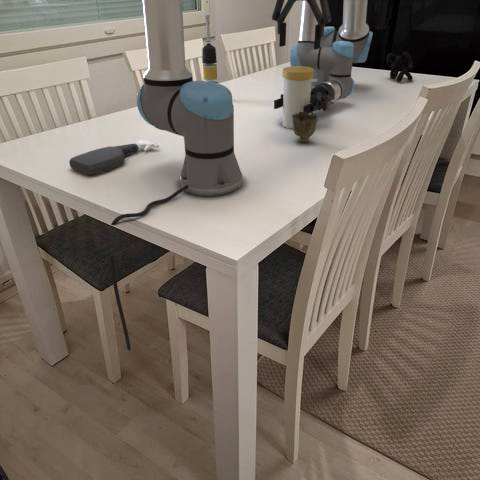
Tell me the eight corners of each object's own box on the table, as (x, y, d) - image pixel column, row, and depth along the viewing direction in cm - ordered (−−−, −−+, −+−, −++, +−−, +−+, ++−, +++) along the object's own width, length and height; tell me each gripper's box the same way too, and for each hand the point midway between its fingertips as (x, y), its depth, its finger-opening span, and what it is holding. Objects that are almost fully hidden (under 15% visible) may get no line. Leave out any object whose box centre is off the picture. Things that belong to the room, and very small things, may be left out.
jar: (287, 130, 144) (289, 74, 135) (278, 122, 151) (280, 69, 142) (312, 127, 146) (316, 72, 137) (302, 120, 153) (305, 67, 144)
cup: (287, 143, 133) (288, 116, 129) (296, 135, 139) (297, 110, 135) (310, 147, 130) (312, 119, 126) (319, 139, 136) (321, 113, 132)
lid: (288, 80, 136) (288, 73, 134) (278, 74, 143) (278, 67, 142) (318, 78, 138) (318, 71, 136) (306, 72, 145) (306, 65, 144)
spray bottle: (67, 168, 120) (139, 144, 136) (91, 178, 114) (163, 151, 130) (65, 157, 118) (137, 134, 134) (89, 167, 112) (162, 142, 128)
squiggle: (400, 92, 202) (376, 71, 205) (417, 76, 202) (392, 56, 205) (405, 81, 191) (380, 59, 194) (423, 64, 191) (397, 42, 194)
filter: (220, 99, 177) (217, 15, 161) (206, 100, 176) (202, 16, 160) (215, 96, 182) (212, 14, 166) (202, 97, 180) (197, 14, 164)
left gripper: (260, -37, 127) (260, 46, 139) (337, -38, 116) (330, 52, 128) (273, -37, 132) (272, 43, 144) (348, -39, 121) (340, 48, 133)
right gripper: (353, 110, 152) (319, 126, 138) (297, 99, 165) (260, 113, 151) (356, 87, 148) (321, 101, 134) (298, 78, 161) (260, 90, 147)
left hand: (299, 47), depth 136 cm, fingers open, 11 cm apart
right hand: (289, 107), depth 143 cm, fingers open, 11 cm apart
